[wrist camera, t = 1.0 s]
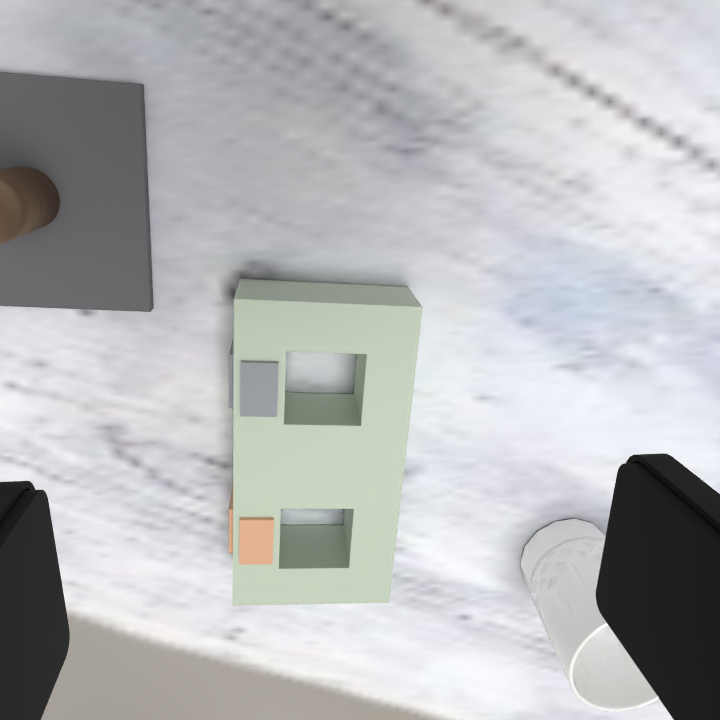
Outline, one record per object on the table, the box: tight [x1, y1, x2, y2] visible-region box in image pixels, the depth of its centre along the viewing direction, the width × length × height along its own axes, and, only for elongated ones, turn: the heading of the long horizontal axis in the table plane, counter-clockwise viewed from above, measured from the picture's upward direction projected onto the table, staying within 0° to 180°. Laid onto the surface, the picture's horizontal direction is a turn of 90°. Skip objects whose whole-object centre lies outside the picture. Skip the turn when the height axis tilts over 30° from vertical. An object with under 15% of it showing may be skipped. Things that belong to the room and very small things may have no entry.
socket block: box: [229, 279, 422, 606], centre depth 38 cm, size 20×10×5 cm, turn 176°
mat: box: [0, 72, 153, 312], centre depth 33 cm, size 12×12×1 cm
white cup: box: [520, 519, 659, 711], centre depth 41 cm, size 8×8×10 cm
